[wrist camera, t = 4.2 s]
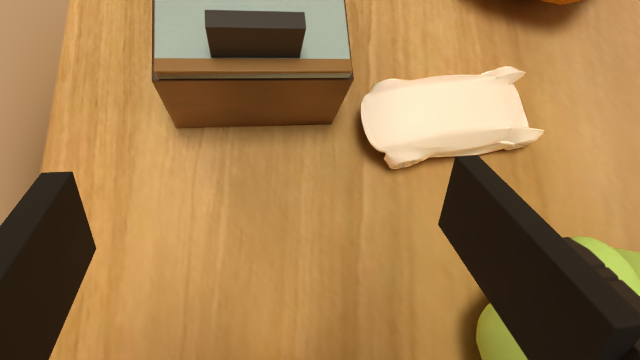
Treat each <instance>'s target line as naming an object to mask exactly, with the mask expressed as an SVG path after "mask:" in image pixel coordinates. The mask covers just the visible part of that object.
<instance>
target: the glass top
mask: <svg viewBox="0 0 640 360" xmlns="http://www.w3.org/2000/svg"><path fill="white" fill-rule="evenodd" d="M154 73H155V75H156V77H157V78H158V79H172V78H349V77H350V75H351V73H352V63H351V59H350V51H349V42H348V33H347V24H346V15H345V6H344V0H155V23H154Z"/></svg>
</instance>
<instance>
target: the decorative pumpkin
mask: <svg viewBox="0 0 640 360" xmlns="http://www.w3.org/2000/svg"><path fill="white" fill-rule="evenodd" d="M541 1H544V2H549V3H555V4H560V5H563V4H568V3H573V2H578V1H582V0H541Z"/></svg>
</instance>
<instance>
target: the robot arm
mask: <svg viewBox="0 0 640 360" xmlns="http://www.w3.org/2000/svg"><path fill="white" fill-rule="evenodd" d="M438 225H439V227H440V228H441V230H442V231H443V233H444V234H445V236H446V237H447V239H448V240H449V242H450V243H451V245H452V246H453V248H454V249H455V251H456V252H457V254H458V255H459V257H460V258H461V260H462V261H463V263H464V264H465V266H466V267H467V269H468V270H469V272H470V273H471V275H472V276H473V278H474V279H475V281H476V282H477V284H478V285H479V287H480V288H481V290H482V291H483V293H484V294H485V296H486V297H487V299H488V300H489V302H490V303H491V305H492V306H493V308H494V309H495V311H496V312H497V314H498V315H499V317H500V318H501V320H502V321H503V323H504V324H505V326H506V327H507V329H508V330H509V332H510V333H511V335H512V337H513V338H514V340H515V341H516V343H517V344H518V346H519V347H520V349H521V350H522V352H523V353H524V355H525V356H526V358H527V359H528V360H640V296H639V295H638V294H637V293H636V292H635V291H634V290H632V289H631V288H630V287H629V286H628V285H627V284H626V283H625V282H624V281H623V280H619V279H618V276H617V275H616V274H615V273H614V272H613V271H612V270H611V269H610V268H609V267H605V263H603V262H602V261H601V260H600V259H599V258H598V257H597V256H596V255H595V254H594V253H593V252H592V251H591V250H589V249H588V248H586V247H584V246H583V245H581V244H579V243H578V242H576V241H574V240H573V239H571V238H569V237H565V238H562V237H561V236H560V235H559V234H558V233H557V232H556V231H555V230H554V229H553V228H552V227H551V226H550V225H549V224H548V223H547V222H546V221H545V220H544V219H543V218H541V217H540V216H539V215H538V214H537V213H536V212H535V211H534V210H533V209H532V208H531V207H530V206H529V205H528V204H527V203H526V202H525V201H524V200H523V199H522V198H521V197H520V196H519V195H518V194H517V193H516V192H515V191H514V190H513V189H512V188H511V187H510V186H509V185H508V184H507V183H505V182H504V181H503V180H502V179H501V178H500V177H499V176H498V175H497V174H496V173H495V172H494V171H493V170H492V169H491V168H490V167H489V166H488V165H487V164H486V163H485V162H484V161H483V160H482V159H481V158H480V157H479V156H478V155H474V156H455V160H454V164H453V168H452V172H451V176H450V180H449V184H448V188H447V192H446V196H445V200H444V204H443V208H442V212H441V216H440V219H439V223H438ZM95 250H96V246H95V243H94V240H93V237H92V233H91V230H90V227H89V224H88V220H87V217H86V214H85V211H84V207H83V204H82V201H81V198H80V195H79V191H78V188H77V185H76V182H75V178H74V175H73V172H50V173H41V174H40V175H39V177H38V178H37V179H36V181H35V182H34V183H33V185H32V186H31V187H30V189H29V190H28V191H27V192H26V194H25V195H24V196H23V197H22V199H21V200H20V201H19V203H18V204H17V205H16V207H15V208H14V209H13V210H12V212H11V213H10V214H9V216H8V217H7V218H6V219H5V221H4V222H3V223H2V225H1V226H0V360H49V357H50V355H51V353H52V351H53V348H54V346H55V344H56V341H57V339H58V337H59V334H60V332H61V330H62V327H63V325H64V323H65V320H66V318H67V316H68V313H69V311H70V309H71V306H72V304H73V302H74V299H75V297H76V295H77V292H78V290H79V288H80V285H81V283H82V281H83V278H84V276H85V274H86V271H87V269H88V267H89V264H90V262H91V260H92V257H93V255H94V253H95Z"/></svg>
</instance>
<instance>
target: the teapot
mask: <svg viewBox="0 0 640 360" xmlns="http://www.w3.org/2000/svg"><path fill="white" fill-rule="evenodd" d="M571 239H573V240H574V241H576V242H578V243H579V244H581V245H583V246H584V247H586V248H588V249H589V250H591V251H592V252H593V253H594V254H595V255H596V256H597V257H598V258H599V259H600V260H601V261H602V262H603V263H605V267H609V268H610V269H611V270H612V271H613V272H614V273H615V274H616V275H617V276H618V279H619V280H623V281H624V282H625V283H626V284H627V285H628V286H629V287H630V288H631V289H632V290H634V291H635V292H636V293H637V294H638V295H639V296H640V253H639V252H635V251H630V250H625V249H620V248H611V247H610V246H608V245H607V244H605V243H603V242H601V241H599V240H597V239H594V238H590V237H584V236H578V237H572V238H571ZM476 344H477V347H478V349H479V351H480V355H481V358H482V360H528V359H527V358H526V356H525V355H524V353H523V352H522V350H521V349H520V347H519V346H518V344H517V343H516V341H515V340H514V338H513V337H512V335H511V333H510V332H509V330H508V329H507V327H506V326H505V324H504V323H503V321H502V320H501V318H500V317H499V315H498V314H497V312H496V311H495V309H494V308H493V306H492V305H491V303H489V304H488V305H487V306H486V307H485V309H484V310H483V312H482V314H481V315H480V317H479V320H478V323H477V331H476Z"/></svg>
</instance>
